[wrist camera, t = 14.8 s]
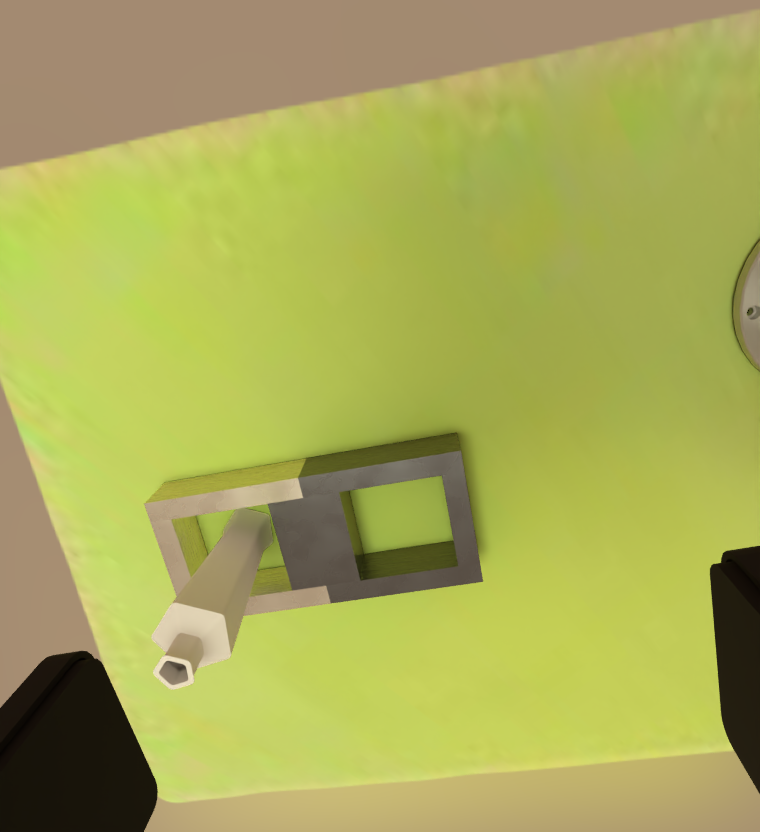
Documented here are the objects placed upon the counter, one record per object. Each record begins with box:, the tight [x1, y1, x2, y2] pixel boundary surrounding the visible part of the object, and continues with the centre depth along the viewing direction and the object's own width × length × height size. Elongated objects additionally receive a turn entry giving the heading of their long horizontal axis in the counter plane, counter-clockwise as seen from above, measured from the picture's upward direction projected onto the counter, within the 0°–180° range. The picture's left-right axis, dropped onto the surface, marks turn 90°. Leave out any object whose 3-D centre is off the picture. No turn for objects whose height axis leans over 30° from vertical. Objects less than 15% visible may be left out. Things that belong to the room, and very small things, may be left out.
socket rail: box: [144, 433, 483, 616], centre depth 42 cm, size 22×10×4 cm, turn 101°
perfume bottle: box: [152, 508, 273, 690], centre depth 37 cm, size 5×4×15 cm
